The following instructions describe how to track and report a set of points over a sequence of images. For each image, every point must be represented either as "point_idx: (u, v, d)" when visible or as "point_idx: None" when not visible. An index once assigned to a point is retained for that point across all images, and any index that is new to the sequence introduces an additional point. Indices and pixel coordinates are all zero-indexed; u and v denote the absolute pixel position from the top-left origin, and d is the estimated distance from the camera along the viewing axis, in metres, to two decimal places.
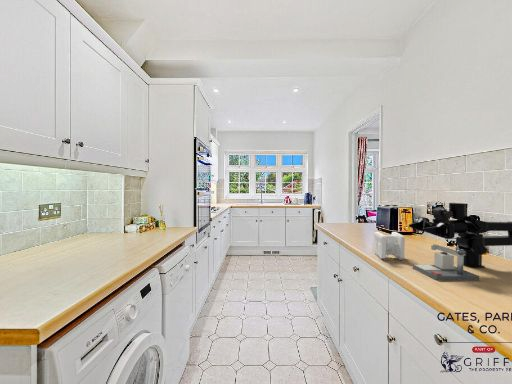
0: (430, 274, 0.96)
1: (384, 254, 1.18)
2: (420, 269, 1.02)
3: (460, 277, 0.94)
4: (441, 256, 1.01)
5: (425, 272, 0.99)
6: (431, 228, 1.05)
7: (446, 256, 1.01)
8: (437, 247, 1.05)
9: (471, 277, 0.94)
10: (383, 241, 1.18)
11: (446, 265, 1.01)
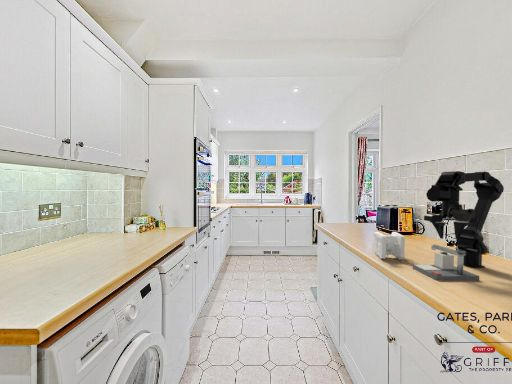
0: (430, 274, 0.96)
1: (384, 254, 1.18)
2: (420, 269, 1.02)
3: (460, 277, 0.94)
4: (441, 256, 1.01)
5: (425, 272, 0.99)
6: None
7: (446, 256, 1.01)
8: (438, 247, 1.05)
9: (471, 277, 0.94)
10: (383, 241, 1.18)
11: (446, 265, 1.01)
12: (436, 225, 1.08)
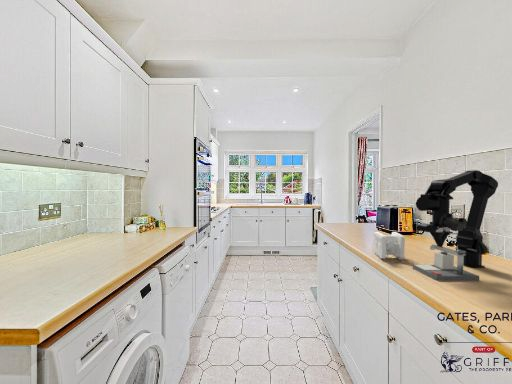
0: (430, 274, 0.96)
1: (384, 254, 1.18)
2: (420, 269, 1.02)
3: (460, 277, 0.94)
4: (441, 256, 1.01)
5: (425, 272, 0.99)
6: None
7: (446, 256, 1.01)
8: (437, 247, 1.05)
9: (471, 277, 0.94)
10: (383, 241, 1.18)
11: (446, 265, 1.01)
12: (434, 234, 1.07)
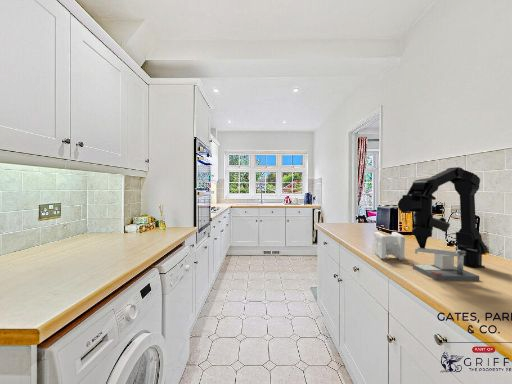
0: (430, 274, 0.96)
1: (384, 254, 1.18)
2: (420, 269, 1.02)
3: (460, 277, 0.94)
4: (441, 256, 1.01)
5: (425, 272, 0.99)
6: None
7: (446, 256, 1.01)
8: (426, 250, 1.00)
9: (471, 277, 0.94)
10: (383, 241, 1.18)
11: (446, 265, 1.01)
12: (419, 237, 1.02)
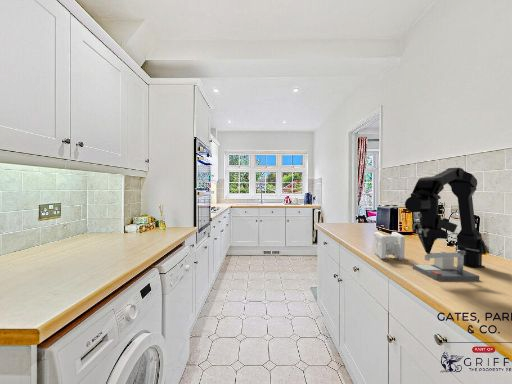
0: (430, 274, 0.96)
1: (384, 254, 1.18)
2: (420, 269, 1.02)
3: (460, 277, 0.94)
4: None
5: (425, 272, 0.99)
6: None
7: None
8: (437, 255, 0.93)
9: (471, 277, 0.94)
10: (383, 241, 1.18)
11: (446, 265, 1.01)
12: (426, 239, 0.94)
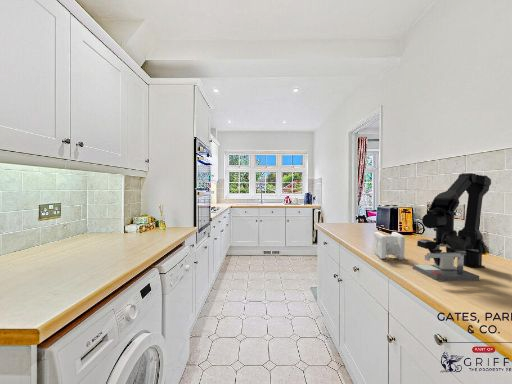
0: (430, 274, 0.96)
1: (384, 254, 1.18)
2: (420, 269, 1.02)
3: (460, 277, 0.94)
4: None
5: (425, 272, 0.99)
6: None
7: None
8: (437, 255, 0.93)
9: (471, 277, 0.94)
10: (383, 241, 1.18)
11: (446, 265, 1.01)
12: (432, 251, 1.04)
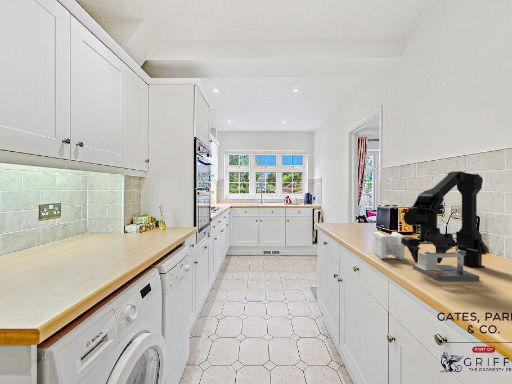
0: (430, 274, 0.96)
1: (384, 254, 1.18)
2: (420, 269, 1.02)
3: (460, 277, 0.94)
4: None
5: (425, 272, 0.99)
6: None
7: None
8: (437, 255, 0.93)
9: (471, 277, 0.94)
10: (383, 241, 1.18)
11: (429, 265, 1.01)
12: (411, 249, 1.04)
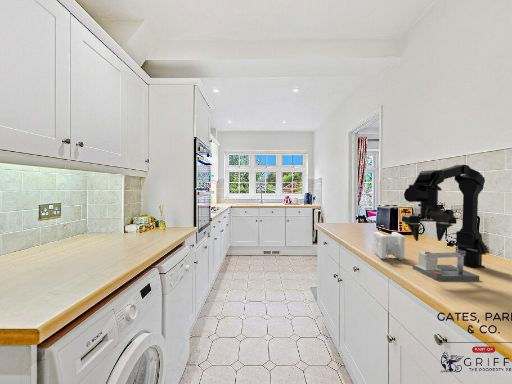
0: (430, 274, 0.96)
1: (384, 254, 1.18)
2: (420, 269, 1.02)
3: (460, 277, 0.94)
4: None
5: (425, 272, 0.99)
6: None
7: None
8: (437, 255, 0.93)
9: (471, 277, 0.94)
10: (383, 241, 1.18)
11: (429, 265, 1.01)
12: (411, 226, 1.04)
